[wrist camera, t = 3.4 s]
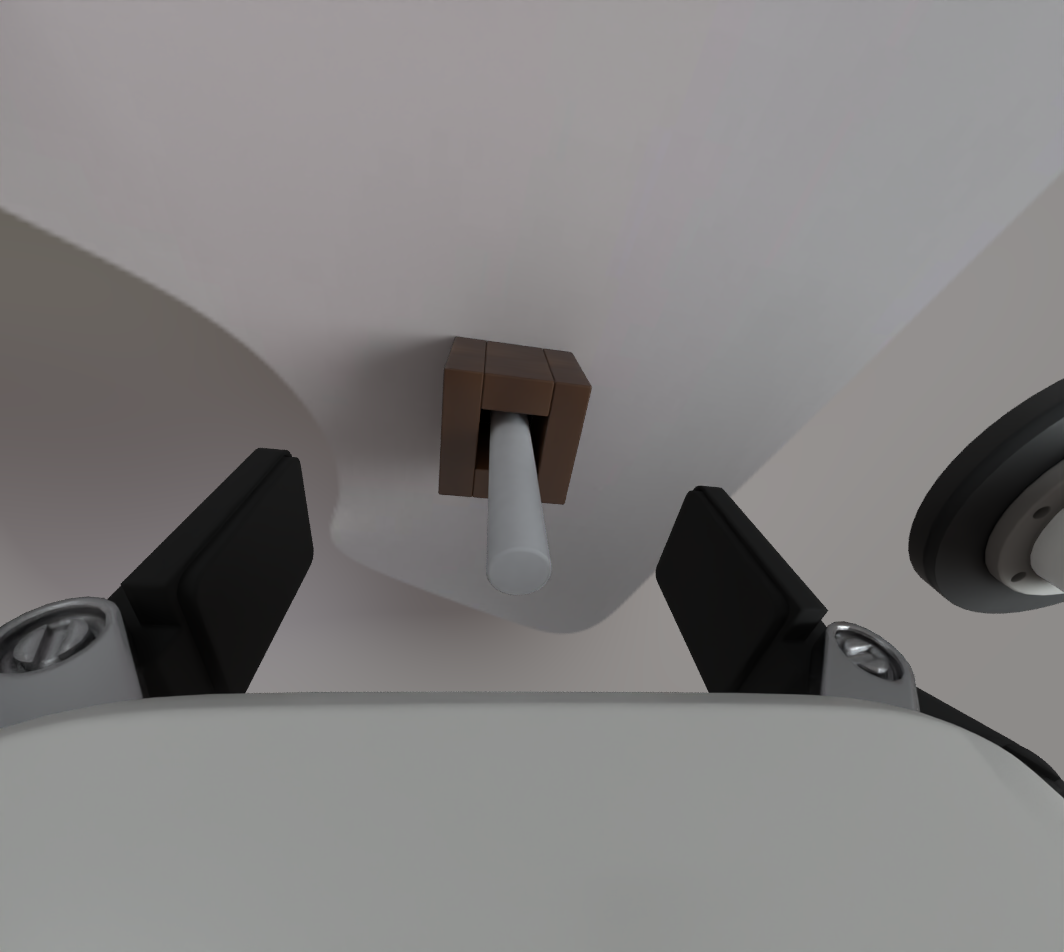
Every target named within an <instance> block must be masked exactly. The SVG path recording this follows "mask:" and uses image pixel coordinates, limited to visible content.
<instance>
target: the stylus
mask: <svg viewBox="0 0 1064 952" xmlns="http://www.w3.org/2000/svg"><path fill="white" fill-rule="evenodd" d="M551 572H552V565H551V559H550V553H549V546H548V540H547V534H546V528H545V522H544V515H543V509H542V503H541V497H540V491H539V484H538V478H537V472H536V466H535V460H534V453H533V447H532V441H531V435H530V429H529V422H528V416H527V414H521V413H513V412H504V411H495V410H491V417H490V453H489V490H488V527H487V563H486V574H487V578H488V580H489V582H490V583H491V584H492V586H493V587H494V588H496V589H497V590H499V591H500V592H503V593H506V594H510V595H525V594H529V593H532V592H535V591H537V590H539V589H540V588H542V587H543V586H544V585H545V584H546V583H547V581H548V580H549V578H550V575H551Z"/></svg>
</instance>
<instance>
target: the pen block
mask: <svg viewBox="0 0 1064 952" xmlns="http://www.w3.org/2000/svg"><path fill="white" fill-rule="evenodd" d="M591 389H592V386H591V385H590V383H589V381H588V379H587V378H586V376H585V374H584V372H583V371H582V369H581V367H580V365H579V364H578V362H577V360H576V359H575V357H574V355H573V353H571V352H565V351H557V350H550V349H542V348H535V347H528V346H521V345H514V344H506V343H499V342H492V341H487V343H486V341H485V340H478V339H470V338H463V337H455V339H454V342H453V345H452V348H451V351H450V353H449V356H448V359H447V362H446V365H445V368H444V380H443V403H442V425H441V447H440V470H439V492H438V493H439V494H441V495H453V496H465V497H472V496H473V497H476V498H488V490H489V453H490V423H485V422H480V411H481V408H482V409H486V410H495V411H504V412H513V413H521V414H530V415H532V419H531V425H530V428H529V429H530V435H531V441H532V447H533V453H534V460H535V466H536V472H537V478H538V484H539V491H540V497H541V503H550V504H562V505H563V504H564V503H565V500H566V495H567V491H568V487H569V483H570V478H571V474H572V470H573V466H574V461H575V457H576V453H577V449H578V444H579V440H580V436H581V432H582V427H583V423H584V419H585V415H586V410H587V406H588V402H589V398H590V393H591Z"/></svg>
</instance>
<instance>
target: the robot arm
mask: <svg viewBox="0 0 1064 952" xmlns="http://www.w3.org/2000/svg"><path fill="white" fill-rule="evenodd" d="M312 560H313V543H312V536H311V530H310V524H309V517H308V511H307V504H306V497H305V491H304V485H303V478H302V471H301V465H300V461H299V459H298V458H296V457H292V456H291V454H290V452H289V451H288V450H278V449H267V448H258V449H256V450H255V451H254V452H253V453H252V454H251V455H250V456H249V457H248V458H247V459H246V460H245V461H244V462H243V463H242V464H241V465H240V466H239V467H238V468H237V469H236V470H235V471H234V472H233V473H232V474H231V475H230V476H229V477H228V478H227V479H226V480H225V481H224V482H223V483H222V484H221V485H220V486H219V487H218V488H217V489H216V490H215V491H214V492H213V493H212V494H210V495H209V497H207V498H206V500H204V502H202V504H200V505H199V506H198V507H197V508H196V509H195V510H194V511H193V512H192V513H191V514H190V515H189V516H188V517H187V518H186V519H185V520H184V521H183V522H182V524H180V525H179V526H178V527H177V528H176V529H175V530H174V531H173V532H172V533H171V534H170V535H169V536H168V537H167V538H166V539H165V540H164V542H162V543H161V544H160V545H159V546H158V547H157V548H156V549H155V550H154V551H153V552H152V553H151V554H150V555H149V556H148V557H147V558H146V559H145V560H144V561H143V562H142V563H141V564H140V565H139V566H138V567H137V568H136V569H135V570H134V571H133V572H132V573H131V574H130V575H129V576H128V577H127V578H126V579H125V580H124V581H123V582H122V583H121V586H120V587H119V588H118V589H117V590H116V591H115V592H114V593H113V594H112V595H111V596H110V597H109V598H108V599H105V598H98V597H79V598H71V599H65V600H61V601H58V602H54V603H50V604H46V605H44V606H41V607H39V608H36V609H34V610H31V611H29V612H26V613H24V614H22V615H20V616H19V617H17V618H15V619H13V620H11V621H9V622H8V623H6V624H4V625H3V626H1V627H0V952H1064V781H1063V780H1061V778H1060V777H1059V776H1058V774H1057V773H1056V772H1055V771H1054V770H1053V769H1052V767H1050V765H1048V764H1047V763H1046V762H1045V761H1044V760H1043V759H1041V758H1040V757H1039V756H1037V755H1036V754H1034V753H1033V752H1031V751H1030V750H1028V749H1026V748H1024V747H1022V746H1020V745H1019V744H1017V743H1015V742H1014V741H1012V740H1010V739H1008V738H1007V737H1005V736H1003V735H1001V734H1000V733H998V732H996V731H994V730H992V729H990V728H989V727H987V726H985V725H983V724H982V723H980V722H978V721H976V720H975V719H973V718H971V717H969V716H967V715H966V714H963V713H962V712H960V711H958V710H957V709H955V708H953V707H951V706H949V705H948V704H946V703H944V702H942V701H941V700H939V699H937V698H935V697H933V696H932V695H930V694H928V693H926V692H924V691H923V690H921V689H919V688H917V687H916V684H915V678H914V674H913V671H912V669H911V666H910V665H909V663H908V662H907V661H906V659H905V658H904V657H903V655H902V654H901V653H900V652H899V651H898V650H897V649H896V648H894V646H892V645H891V644H890V643H889V642H887V641H886V640H884V639H883V638H882V637H880V636H879V635H877V634H875V633H874V632H872V631H870V630H868V629H866V628H864V627H861V626H859V625H856V624H853V623H848V622H834V623H832V624H830V625H828V627H826V626H825V625H824V623H823V622H822V621H821V619H822V618H823V617H824V615H825V614H826V613H827V611H828V610H827V609H826V607H825V606H824V605H823V604H822V603H821V602H820V601H819V599H818V598H817V597H816V596H815V595H814V594H813V593H812V591H811V590H810V589H809V588H808V587H807V586H806V585H805V583H804V582H803V581H802V580H801V579H800V577H799V576H798V575H797V574H796V573H795V572H794V571H793V569H792V568H791V567H790V566H789V565H788V564H787V563H786V561H785V560H784V559H783V558H782V557H781V556H780V554H779V553H778V552H777V551H776V550H775V549H774V547H773V546H772V545H771V544H770V543H769V542H768V541H767V539H766V538H765V537H764V536H763V535H762V534H761V532H760V531H759V530H758V529H757V528H756V527H755V525H754V524H753V523H752V522H751V521H750V520H749V519H748V518H747V516H746V515H745V514H744V513H743V512H742V510H741V509H740V508H739V507H738V506H737V505H736V504H735V502H734V501H733V500H732V499H731V498H730V497H729V495H728V494H727V493H726V492H725V491H724V490H723V489H722V488H719V487H709V486H697V487H695V488H694V490H693V491H689V492H688V493H687V495H686V497H685V499H684V502H683V504H682V507H681V509H680V512H679V514H678V516H677V519H676V521H675V524H674V526H673V528H672V531H671V533H670V536H669V538H668V540H667V543H666V545H665V548H664V550H663V553H662V555H661V557H660V560H659V562H658V565H657V567H656V579H657V582H658V584H659V586H660V589H661V590H662V592H663V595H664V597H665V599H666V601H667V603H668V606H669V608H670V610H671V612H672V614H673V616H674V619H675V621H676V623H677V625H678V627H679V629H680V632H681V634H682V636H683V638H684V640H685V642H686V645H687V646H688V649H689V651H690V653H691V655H692V657H693V660H694V662H695V664H696V666H697V668H698V670H699V672H700V675H701V677H702V679H703V681H704V683H705V685H706V687H707V690H708V692H709V693H679V692H678V693H677V692H674V693H673V692H672V693H671V692H670V693H669V692H297V693H245V692H246V691H247V689H248V687H249V685H250V683H251V681H252V679H253V677H254V675H255V673H256V671H257V669H258V667H259V665H260V663H261V661H262V659H263V657H264V655H265V653H266V651H267V649H268V648H269V646H270V643H271V642H272V640H273V638H274V636H275V634H276V632H277V630H278V628H279V626H280V624H281V622H282V620H283V618H284V616H285V614H286V612H287V610H288V608H289V606H290V604H291V603H292V600H293V599H294V597H295V595H296V593H297V591H298V589H299V587H300V585H301V583H302V581H303V579H304V577H305V575H306V573H307V571H308V569H309V567H310V565H311V563H312ZM985 563H986V565H987V568H988V570H989V572H990V573H991V574H992V575H993V576H994V577H995V578H996V579H997V580H999V581H1000V582H1002V583H1003V584H1004V585H1006V586H1008V587H1009V588H1011V589H1012V590H1014V591H1016V592H1020V593H1024V594H1029V595H1054V594H1063V593H1064V459H1063V460H1061V461H1060V462H1059V463H1057V464H1056V465H1054V466H1053V467H1051V468H1050V469H1049V470H1047V471H1046V472H1044V473H1043V474H1042V475H1041V476H1040V477H1039V478H1037V479H1036V480H1035V481H1034V482H1033V483H1031V484H1030V485H1029V486H1028V487H1027V488H1026V489H1025V490H1024V491H1023V492H1022V493H1021V494H1020V495H1019V496H1018V497H1017V498H1016V499H1015V500H1014V501H1013V502H1012V503H1011V504H1010V505H1009V506H1008V508H1007V509H1006V510H1005V512H1004V513H1003V514H1002V516H1001V517H1000V518H999V520H998V521H997V523H996V525H995V527H994V528H993V530H992V532H991V534H990V536H989V539H988V542H987V546H986V549H985Z"/></svg>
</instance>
